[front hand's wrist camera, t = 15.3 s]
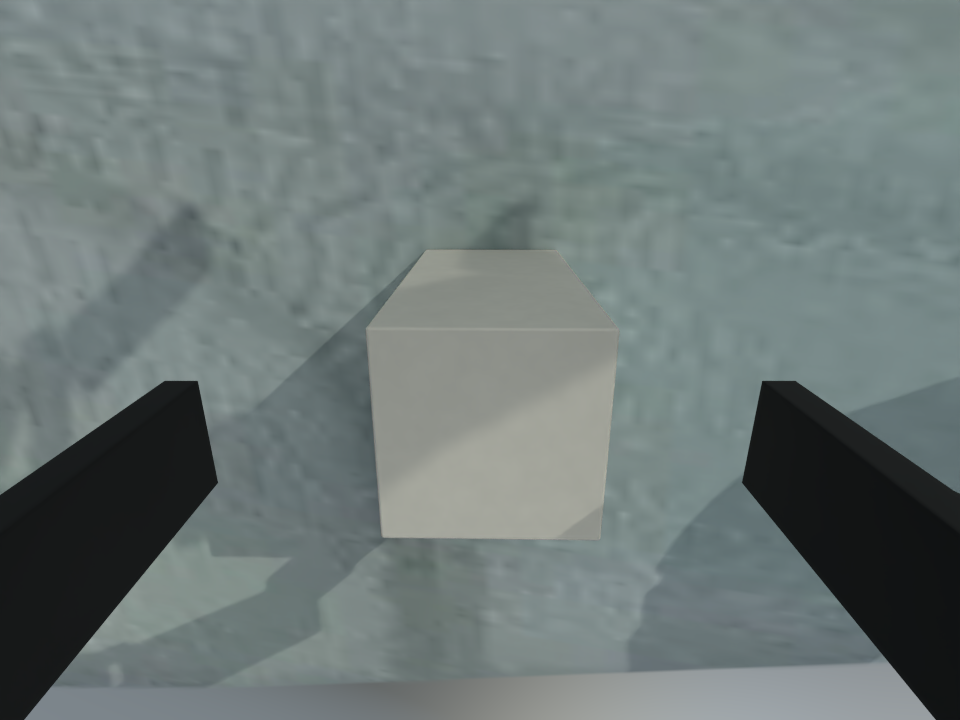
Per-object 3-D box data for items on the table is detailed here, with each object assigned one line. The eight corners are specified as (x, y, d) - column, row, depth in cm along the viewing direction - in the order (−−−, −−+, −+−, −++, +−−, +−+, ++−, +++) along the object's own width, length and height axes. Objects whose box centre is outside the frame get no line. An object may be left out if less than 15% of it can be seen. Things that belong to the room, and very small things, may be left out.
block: (551, 372, 24) (600, 541, 13) (429, 372, 24) (380, 538, 13) (557, 249, 22) (620, 328, 11) (425, 249, 22) (364, 327, 12)
